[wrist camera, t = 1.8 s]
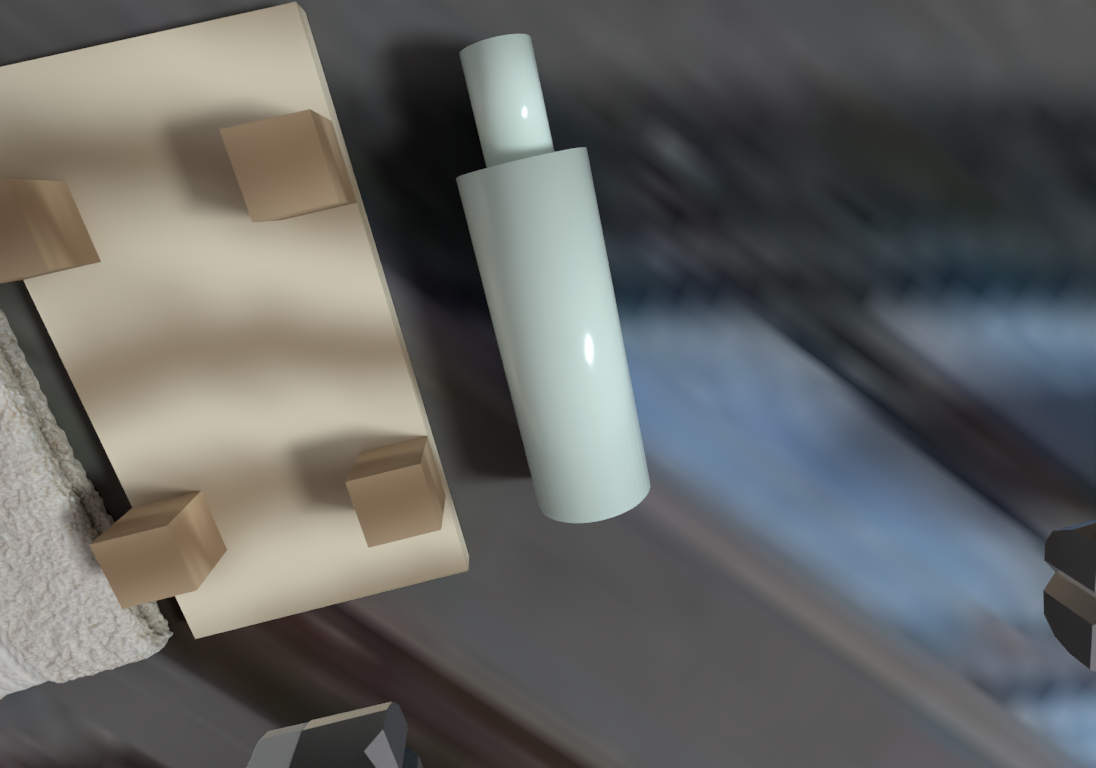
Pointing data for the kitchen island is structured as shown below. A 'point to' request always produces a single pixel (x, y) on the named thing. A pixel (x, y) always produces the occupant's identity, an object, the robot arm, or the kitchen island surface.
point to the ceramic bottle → (550, 293)
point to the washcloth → (54, 550)
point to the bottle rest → (223, 320)
